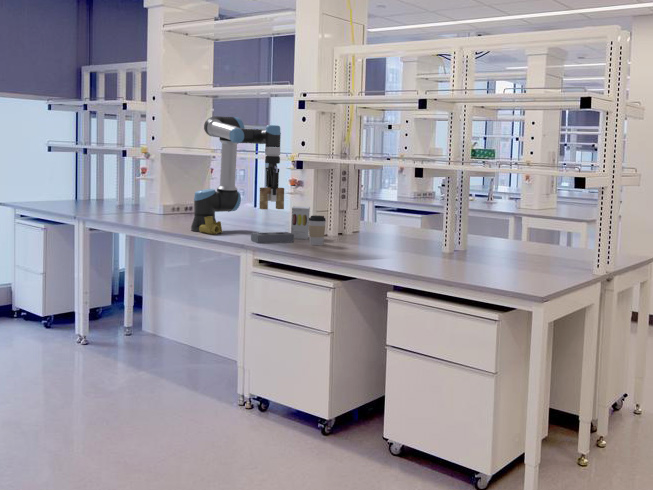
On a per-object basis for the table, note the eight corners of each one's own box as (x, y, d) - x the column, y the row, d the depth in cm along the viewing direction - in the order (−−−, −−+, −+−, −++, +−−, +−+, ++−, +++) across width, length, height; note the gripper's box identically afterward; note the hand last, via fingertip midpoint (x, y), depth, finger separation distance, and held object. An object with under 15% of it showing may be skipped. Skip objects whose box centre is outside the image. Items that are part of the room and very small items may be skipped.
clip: (262, 209, 373) (262, 188, 371) (259, 208, 376) (259, 187, 375) (283, 209, 378) (284, 188, 376) (281, 208, 381) (281, 187, 380)
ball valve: (214, 236, 396) (227, 232, 404) (211, 218, 394) (225, 214, 401) (199, 235, 404) (212, 232, 412) (196, 217, 402) (210, 214, 410)
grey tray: (257, 243, 371) (257, 235, 370) (251, 240, 380) (251, 232, 379) (293, 241, 380) (293, 234, 379) (286, 239, 388) (286, 232, 388)
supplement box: (290, 238, 393) (291, 207, 391) (291, 236, 402) (292, 206, 400) (308, 239, 393) (308, 208, 390) (309, 237, 402) (310, 206, 399)
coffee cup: (305, 244, 370) (305, 215, 368) (311, 242, 379) (311, 214, 377) (321, 246, 368) (322, 216, 365) (327, 244, 376) (328, 215, 374)
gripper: (260, 155, 380) (259, 199, 383) (271, 155, 364) (270, 202, 367) (273, 155, 383) (272, 199, 386) (285, 156, 367) (284, 202, 371)
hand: (271, 201), depth 377 cm, fingers closed on clip, 4 cm apart
